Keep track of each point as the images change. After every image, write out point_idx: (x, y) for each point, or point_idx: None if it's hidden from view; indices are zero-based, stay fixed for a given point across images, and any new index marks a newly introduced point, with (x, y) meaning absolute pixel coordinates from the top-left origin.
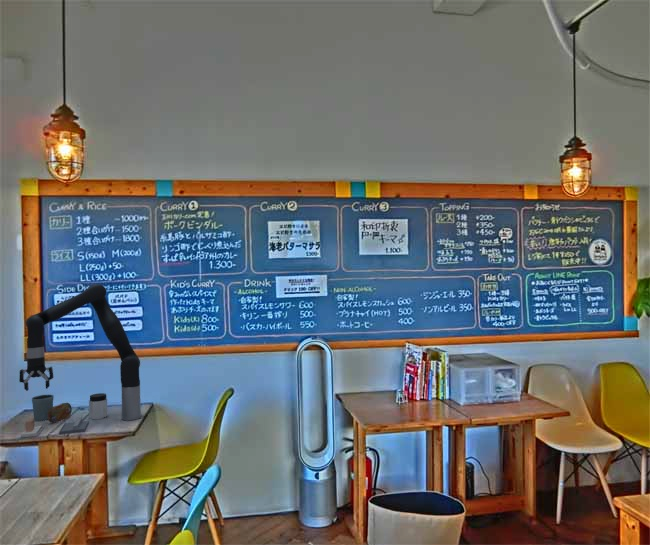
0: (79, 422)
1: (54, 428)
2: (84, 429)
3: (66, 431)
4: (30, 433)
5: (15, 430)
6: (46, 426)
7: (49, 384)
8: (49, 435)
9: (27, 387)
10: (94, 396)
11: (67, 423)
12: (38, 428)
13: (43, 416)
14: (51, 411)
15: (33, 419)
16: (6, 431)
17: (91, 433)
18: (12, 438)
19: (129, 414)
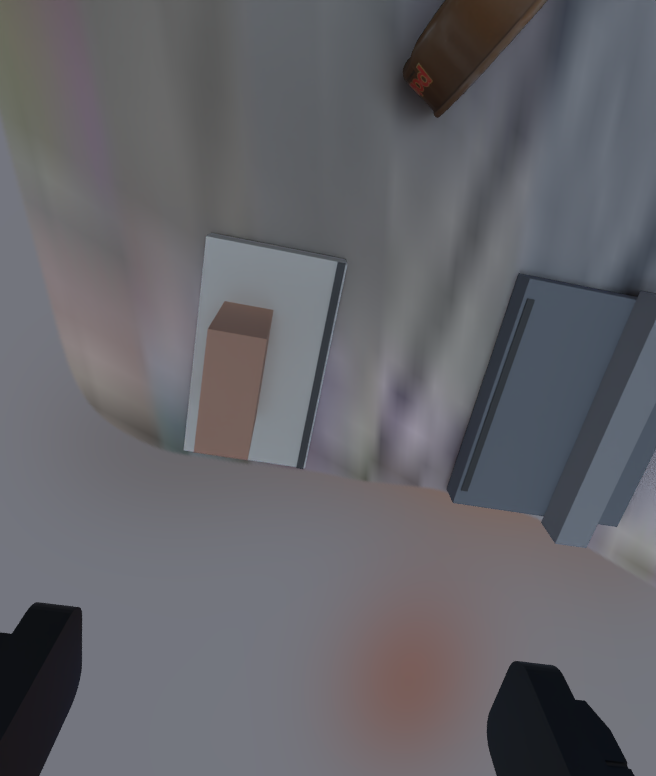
0: (625, 461)
1: (433, 295)
2: (612, 523)
3: (497, 505)
4: (253, 459)
5: (97, 146)
6: (373, 174)
7: (625, 766)
8: (382, 472)
9: (40, 763)
10: None
11: (548, 303)
12: (307, 344)
13: None
14: (463, 78)
15: (261, 372)
16: (13, 131)
17: (627, 566)
18: (127, 406)
19: None
